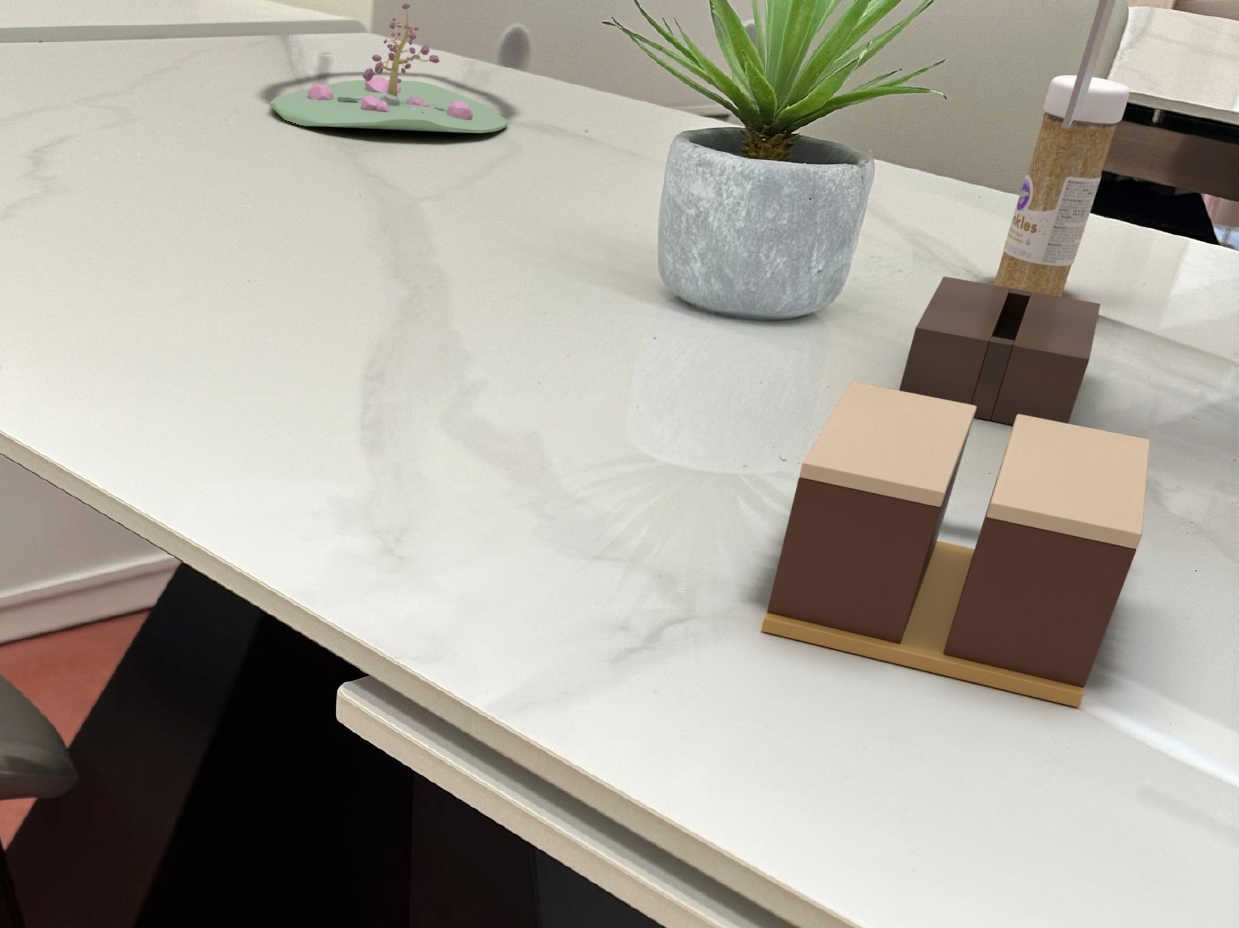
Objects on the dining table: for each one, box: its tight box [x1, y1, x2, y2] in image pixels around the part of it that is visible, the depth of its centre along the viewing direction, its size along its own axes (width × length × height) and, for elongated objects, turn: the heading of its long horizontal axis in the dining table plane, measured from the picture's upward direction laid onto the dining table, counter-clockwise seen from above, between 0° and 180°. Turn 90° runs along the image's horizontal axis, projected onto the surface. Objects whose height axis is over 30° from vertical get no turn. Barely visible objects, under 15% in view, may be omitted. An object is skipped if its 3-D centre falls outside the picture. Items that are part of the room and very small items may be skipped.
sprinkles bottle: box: [993, 74, 1131, 297], centre depth 101 cm, size 5×5×14 cm
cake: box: [760, 381, 1151, 708], centre depth 65 cm, size 12×12×7 cm
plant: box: [269, 2, 509, 134], centre depth 140 cm, size 25×21×9 cm
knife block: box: [898, 276, 1101, 426], centre depth 90 cm, size 12×9×4 cm
